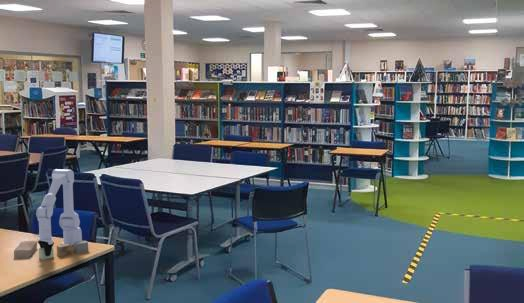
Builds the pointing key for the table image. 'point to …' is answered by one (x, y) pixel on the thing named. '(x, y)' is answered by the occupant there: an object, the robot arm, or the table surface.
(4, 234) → the table surface
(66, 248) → the walnut block
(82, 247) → the grey block
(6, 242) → the table surface
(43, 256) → the green block
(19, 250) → the brick
